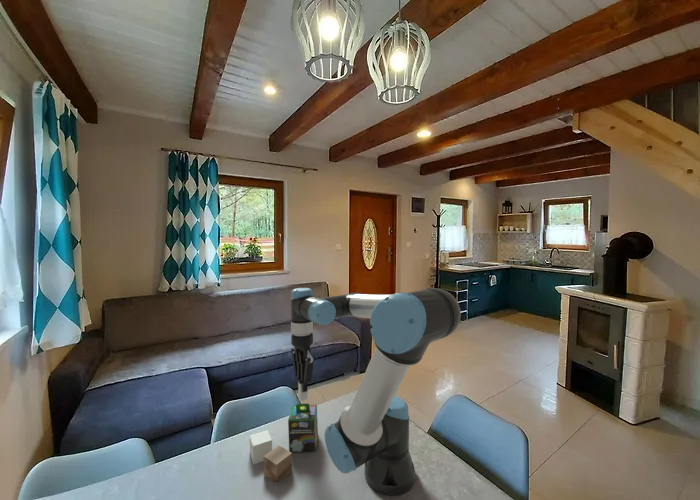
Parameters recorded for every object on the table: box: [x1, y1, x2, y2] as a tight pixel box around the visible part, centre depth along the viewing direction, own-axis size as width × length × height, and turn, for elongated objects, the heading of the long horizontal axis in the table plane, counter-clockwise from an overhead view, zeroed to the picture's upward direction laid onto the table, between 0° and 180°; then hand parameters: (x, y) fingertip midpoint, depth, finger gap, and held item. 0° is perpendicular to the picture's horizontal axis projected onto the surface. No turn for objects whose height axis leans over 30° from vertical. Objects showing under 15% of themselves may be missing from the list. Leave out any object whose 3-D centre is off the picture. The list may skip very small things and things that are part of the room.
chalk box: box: [287, 403, 319, 453], centre depth 105 cm, size 9×9×15 cm
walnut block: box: [263, 445, 293, 485], centre depth 91 cm, size 6×6×6 cm
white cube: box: [249, 429, 273, 465], centre depth 99 cm, size 6×6×6 cm
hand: (303, 399), depth 105 cm, fingers closed
